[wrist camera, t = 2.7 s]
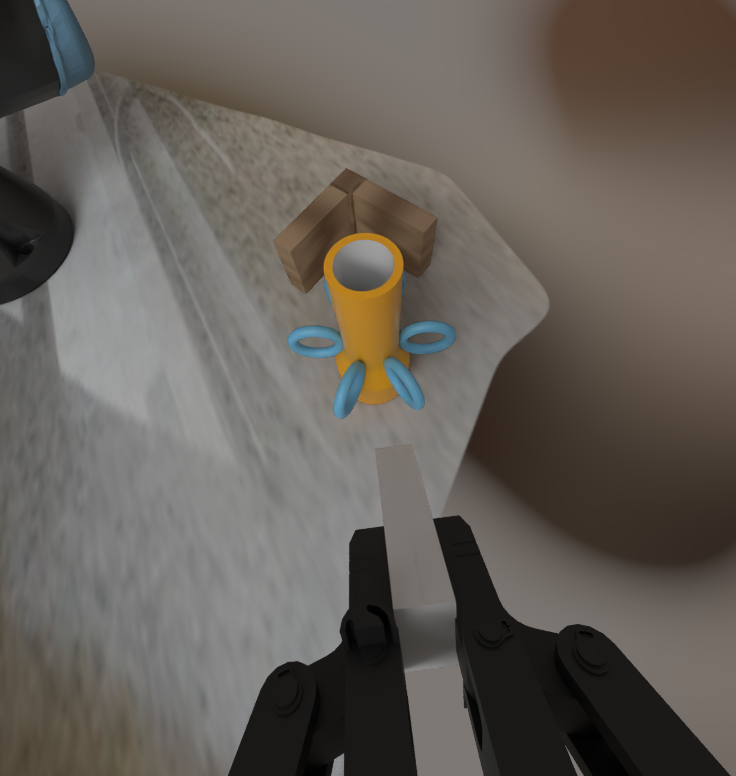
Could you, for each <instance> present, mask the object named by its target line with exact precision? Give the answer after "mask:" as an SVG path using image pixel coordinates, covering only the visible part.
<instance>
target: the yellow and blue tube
mask: <svg viewBox="0 0 736 776" xmlns="http://www.w3.org/2000/svg"><path fill="white" fill-rule="evenodd" d="M324 275H325V278H326V280H325V282H324V288H325V291H326V294H327V296H328V298H329V300H330V302H331V304H332V306H333V308H334V311H335V315H336V319H337V322H338V326H339V330H340V332H338V331H336V330H334V329H332V328H329V327H324V326H304V327H300V328H298V329H295V330H294V331H292V332H291V333H290V334H289V336H288V340H287V341H288V345H289V347H290V348H291V349H292V350H293V351H294V352H296V353H298V354H300V355H303V356H307V357H313V358H325V357H331V356H335V355H336V365H337V369H338V372H339V374H340V377H341V382H340V384H339V387H338V389H337V392H336V396H335V400H334V407H333V410H334V414H335V416H336V417H337V418H340V419H342V418H345V417H346V416H348V414H349V413H350V412H351V410H352V409H353V407H354V405H355V403H356V401H360V402H362V403H365V404H371V405H378V404H383V403H386V402H389V401H391V400H393V399H394V398H395V397H397V396H398V395H399V396H400V397H401V398H402V399H403V400H404V401H405V403H406V404H408V405H409V406H410V407H411V408H413V409H415V410H420V409H422V408H423V407H424V404H425V399H424V395H423V392H422V390H421V388H420V386H419V384H418V383H417V381H416V379H415V378H414V376H413V375H412V373H411V372H410V371H409V364H410V353H414V354H429V353H435V352H439V351H442V350H444V349H446V348H448V347H449V346H451V345H452V344H453V342H454V341H455V339H456V332H455V330H454V328H453V327H452V326H450V325H449V324H447V323H444V322H440V321H421V322H417V323H413V324H411V325H408V326H406V327H405V328H403V329H402V330H401V331H400V314H401V300H402V297H403V294H404V290H405V285H406V274H405V272H404V271H403V257H402V254H401V252H400V250H399V249H398V247H397V246H396V245H395V244H394V243H393V242H392V241H390V240H389V239H387V238H385V237H383V236H381V235H378V234H373V233H358V234H353V235H350V236H347V237H345V238H343V239H341V240H340V241H338V242H337V243H336V244H335V245H334V246H333V247H332V248H331V249H330V250H329V252H328V253H327V255H326V258H325V261H324ZM399 331H400V332H399ZM425 332H436V333H441V334H443V335H445V337H444V338H443V339H441V340H439V341H437V342H434V343H429V344H415V343H411V342H409V341H408V340H407V339H408V338H410V337H411V336H413V335H416V334H419V333H425ZM307 337H322V338H327V339H330V340H332V341H334V342H335V344H334V345H333V346H330V347H326V348H313V347H308V346H305V345H302V344H301V343H299V342H298V341H299V340H300V339H303V338H307ZM406 387H407V388H406Z"/></svg>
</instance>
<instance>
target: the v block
mask: <svg viewBox="0 0 736 776" xmlns="http://www.w3.org/2000/svg"><path fill="white" fill-rule="evenodd" d="M437 219H438V217H436V216H434V215H432V214H431V213H429V212H427V211H425V210H423V209H421V208H419V207H417V206H415V205H414V204H412V203H410V202H408V201H406V200H404V199H402V198H400V197H399V196H397V195H395V194H393V193H391V192H389V191H387V190H385V189H383V188H382V187H380V186H378V185H376V184H374V183H372V182H370V181H368V180H367V179H366V178H364V177H362V176H360V175H358V174H356V173H354V172H353V171H351V170H349V169H347V168H346V169H345V170H344V171H343V172H342V173H341V174H340V175H339V176H338V177H337V178H336V179H335V180H334V181H333V182H332V183H331V184H330V185H329V186H328V187H327V188H326V189H325V190H324V191H323V192H322V193H321V194H320V195H319V196H318V197H317V198H316V199H315V200H314V201H313V202H312V203H311V204H310V205H309V206H308V207H307V208H306V209H305V210H304V211H303V212H302V213H301V214H300V215H299V216H298V217H297V218H296V219H295V220H294V221H293V222H292V223H291V224H290V225H289V226H288V227H287V228H286V229H285V230H284V231H282V232H281V233H280V234H279V235H278V236H277V237H276V238H275V239H274V240H273V242H274V245H275V247H276V249H277V251H278V254H279V256H280V258H281V261H282V263H283V265H284V268H285V270H286V272H287V275H288V277H289V279H290V282H291V284H292V285H294V286H295V287H297V288H298V289H300V290H301V291H303V292H304V293H307V292H308V291H309V290H310V289H311V288H312V287H313V286H314V285H315V284H316V283H317V282H318V281H319V280H320V278H321V277H322V276H323V275H324V261H325V258H326V255H327V253H328V252H329V250H330V249H331V248H332V247H333V246H334V245H335V244H336V243H337V242H338V241H340V240H341V239H343V238H345V237H347V236H350V235H353V234H358V233H373V234H378V235H381V236H383V237H385V238H387V239H389V240H390V241H392V242H393V243H394V244H395V245H396V246H397V247H398V249H399V250H400V252H401V254H402V257H403V269H404V270H406V271H407V272H409V273H411V274H413V275H414V276H416V277H418V278H419V276H420V275H421V274H422V273H423V272H424V271H425V269H426V268H427V267H428V266H429V265H430V260H431V254H432V248H433V242H434V236H435V230H436V224H437Z"/></svg>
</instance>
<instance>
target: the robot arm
mask: <svg viewBox="0 0 736 776" xmlns="http://www.w3.org/2000/svg"><path fill="white" fill-rule="evenodd" d="M94 68H95V62H94V57H93V53H92V50H91V48H90V46H89V43H88V41H87V39H86V37H85V35H84V33H83V31H82V29H81V27H80V25H79V23H78V21H77V19H76V17H75V15H74V13H73V11H72V9H71V7H70V5H69V3H68V1H67V0H0V118H2V117H5V116H7V115H10V114H13V113H15V112H18V111H20V110H23V109H26V108H28V107H31V106H33V105H36V104H38V103H41V102H44V101H46V100H49V99H51V98H54V97H57V96H63V95H64V94H65V93H66V92H67V90H68V89H70V88H72V87H74V86H76V85H78V84H80V83H81V82H83V81H85V80H87V79H89V78H90V77H91V76H92V74H93V72H94ZM72 234H73V228H72V222H71V219H70V217H69V215H68V213H67V212H66V210H65V209H64V208H63V207H62V206H61V205H60V204H58V203H57V202H56V201H55V200H54V199H53V198H52V197H51V196H50V195H49V194H47V193H46V192H45V191H44V190H42V189H41V188H39V187H37V186H36V185H34V184H31V183H29V182H28V181H26V180H24V179H23V178H21V177H19V176H17V175H16V174H14V173H12V172H10V171H9V170H7V169H5V168H3V167H2V166H0V304H3V303H7V302H9V301H12V300H14V299H17V298H19V297H21V296H23V295H25V294H26V293H28V292H30V291H31V290H33V289H35V288H36V287H37V286H39V285H40V284H41V283H43V282H44V281H45V280H46V279H47V278H48V277H49V276H50V275H51V274H52V273H53V272H54V271H55V270H56V269H57V268H58V266H59V265H60V264H61V262H62V261H63V259H64V258H65V256H66V254H67V252H68V250H69V247H70V244H71V240H72ZM375 450H376V459H377V468H378V477H379V486H380V495H381V504H382V513H383V522H384V526H382V527H375V528H367V529H359V530H355V532H354V534H353V537H352V539H351V541H350V543H349V560H350V561H349V572H350V574H349V609H348V611H347V612H346V614H345V616H344V617H343V619H342V622H341V627H340V634H341V638H342V642H341V644H340V645H339V646H338V647H337V648H336V649H335V650H334V651H333V652H332V653H330V654H329V655H327V656H326V657H324V658H322V659H320V660H318V661H316V662H314V663H312V664H310V665H309V666H307V665H305V664H303V663H301V662H298V661H295V662H287V663H285V664H283V665H281V666H279V667H277V668H276V669H275V670H274V671H273V672H272V673H271V674H270V675H269V676H268V677H267V679H266V681H265V683H264V685H263V686H262V688H261V690H260V693H259V695H258V698H257V701H256V703H255V706H254V709H253V711H252V714H251V716H250V719H249V722H248V724H247V727H246V730H245V732H244V735H243V737H242V740H241V743H240V745H239V748H238V751H237V753H236V756H235V758H234V761H233V764H232V766H231V769H230V771H229V774H228V776H331V773H332V768H333V763H334V759H335V758H337V757H339V756H340V755H342V754H343V753H344V776H417V767H416V760H415V751H414V743H413V735H412V727H411V719H410V711H409V703H408V696H407V689H406V681H405V673H404V672H410V671H417V670H426V669H434V668H441V667H449V666H457V665H458V661H459V665H460V669H461V673H462V677H463V694H464V696H463V698H464V708H468V712H469V716H470V720H471V724H472V729H473V733H474V737H475V741H476V745H477V749H478V753H479V758H480V762H481V766H482V770H483V774H484V776H577V773H576V771H575V768H574V766H573V764H572V761H571V759H570V756H569V754H568V751H567V749H568V750H569V752H570V754H571V755H572V757H573V758H574V760H575V762H576V763H577V765H578V767H579V768H580V770H581V772H582V773H583V775H584V776H730V775H729V773H728V772H727V771H726V770H725V769H724V768H723V767H722V765H721V764H720V763H719V762H718V761H717V760H716V759H715V758H714V756H713V755H712V754H711V753H710V752H709V751H708V750H707V748H706V747H705V746H704V745H703V744H702V743H701V742H700V740H699V739H698V738H697V737H696V736H695V735H694V734H693V733H692V731H691V730H690V729H689V728H688V727H687V726H686V725H685V723H684V722H683V721H682V720H681V719H680V718H679V717H678V715H677V714H676V713H675V712H674V711H673V710H672V709H671V708H670V706H669V705H668V704H667V703H666V702H665V701H664V699H663V698H662V697H661V696H660V695H659V694H658V693H657V692H656V691H655V689H654V688H653V687H652V686H651V685H650V684H649V682H648V681H647V680H646V679H645V678H644V677H643V676H642V674H641V673H640V672H639V671H638V670H637V669H636V668H635V667H634V665H633V664H632V663H631V662H630V661H629V660H628V659H627V657H626V656H625V655H624V654H623V653H622V652H621V651H620V649H619V648H618V647H617V646H616V645H615V644H614V643H613V642H612V641H611V640H610V639H609V638H607V637H606V636H605V635H604V634H603V633H601V632H599V631H597V630H595V629H594V628H592V627H589V626H585V625H580V624H575V625H569V626H566V627H565V628H564V629H563V630H561V631H560V633H559V634H558V633H553V632H549V631H544V630H539V629H535V628H532V627H529V626H526V625H524V624H522V623H520V622H518V621H517V620H515V619H514V618H513V617H512V616H511V615H509V614H508V612H507V611H506V610H505V609H504V608H503V606H502V604H501V602H500V600H499V598H498V595H497V593H496V590H495V588H494V586H493V583H492V581H491V578H490V576H489V573H488V570H487V568H486V566H485V563H484V561H483V558H482V556H481V554H480V550H479V548H478V545H477V544H476V541H475V538H474V535H473V533H472V530H471V528H470V526H469V525H468V524H467V523H466V522H465V521H464V520H463V519H462V518H461V517H460V516H459V515H458V516H451V517H443V518H435V519H433V518H432V515H431V511H430V507H429V504H428V500H427V497H426V493H425V490H424V486H423V482H422V479H421V475H420V472H419V468H418V465H417V461H416V458H415V454H414V450H413V447H412V444H408V445H401V446H393V447H386V448H378V449H375ZM565 745H566V747H567V749H566V747H565Z"/></svg>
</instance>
